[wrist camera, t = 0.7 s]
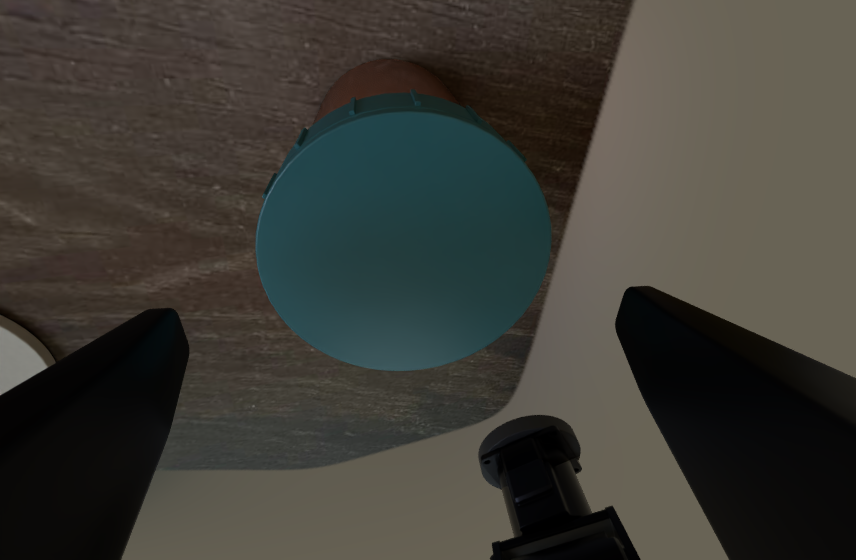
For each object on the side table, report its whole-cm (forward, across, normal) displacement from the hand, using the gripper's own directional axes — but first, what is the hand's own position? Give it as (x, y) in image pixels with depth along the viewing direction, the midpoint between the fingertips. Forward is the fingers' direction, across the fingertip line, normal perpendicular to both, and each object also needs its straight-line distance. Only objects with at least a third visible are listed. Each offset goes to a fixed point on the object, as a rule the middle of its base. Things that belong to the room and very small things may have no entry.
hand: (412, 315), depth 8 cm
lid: (+2, 0, 0) cm, 2 cm away
